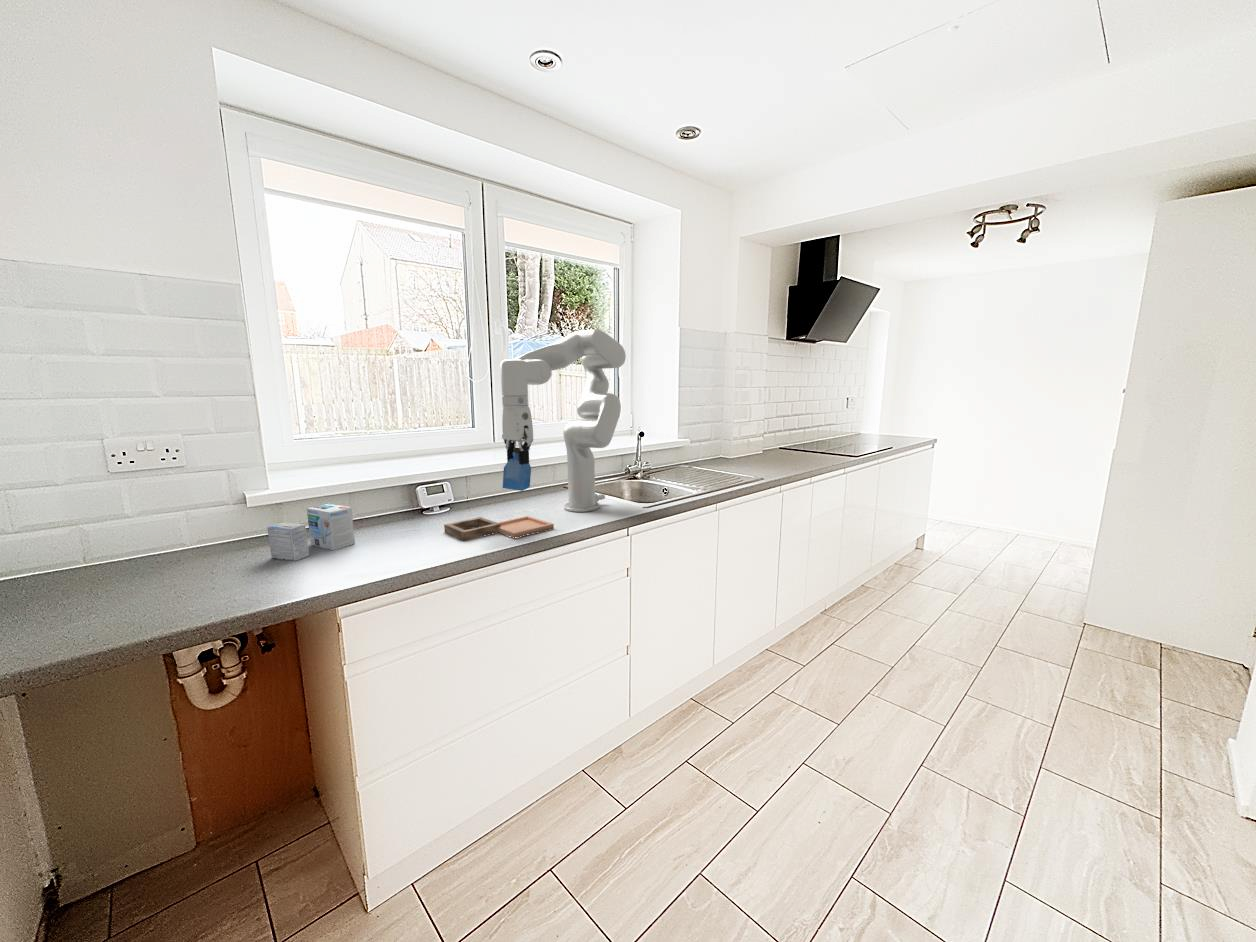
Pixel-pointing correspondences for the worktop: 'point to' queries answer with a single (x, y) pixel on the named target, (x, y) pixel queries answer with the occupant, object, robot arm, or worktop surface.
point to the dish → (523, 526)
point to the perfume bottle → (516, 473)
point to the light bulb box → (331, 526)
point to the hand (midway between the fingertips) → (518, 462)
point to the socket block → (459, 527)
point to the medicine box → (288, 541)
